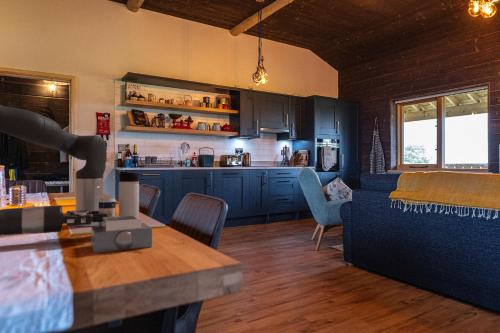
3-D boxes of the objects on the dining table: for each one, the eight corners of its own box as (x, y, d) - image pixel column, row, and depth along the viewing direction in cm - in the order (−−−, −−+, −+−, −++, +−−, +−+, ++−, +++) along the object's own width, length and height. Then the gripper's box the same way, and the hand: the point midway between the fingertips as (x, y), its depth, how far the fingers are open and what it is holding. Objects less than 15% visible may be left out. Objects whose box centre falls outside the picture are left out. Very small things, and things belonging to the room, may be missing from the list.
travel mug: (113, 233, 108) (114, 171, 108) (126, 229, 114) (127, 171, 114) (130, 234, 106) (130, 171, 106) (142, 230, 112) (143, 171, 112)
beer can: (118, 236, 103) (118, 197, 103) (110, 239, 99) (110, 198, 99) (103, 235, 104) (104, 197, 104) (95, 239, 99) (95, 198, 99)
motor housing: (91, 245, 91) (91, 217, 91) (143, 239, 98) (144, 214, 98) (94, 254, 81) (94, 223, 81) (152, 247, 88) (152, 219, 88)
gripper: (41, 208, 87) (108, 205, 95) (44, 203, 99) (103, 201, 107) (41, 237, 87) (108, 231, 95) (43, 229, 99) (103, 224, 107)
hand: (105, 215), depth 101 cm, fingers open, 8 cm apart
